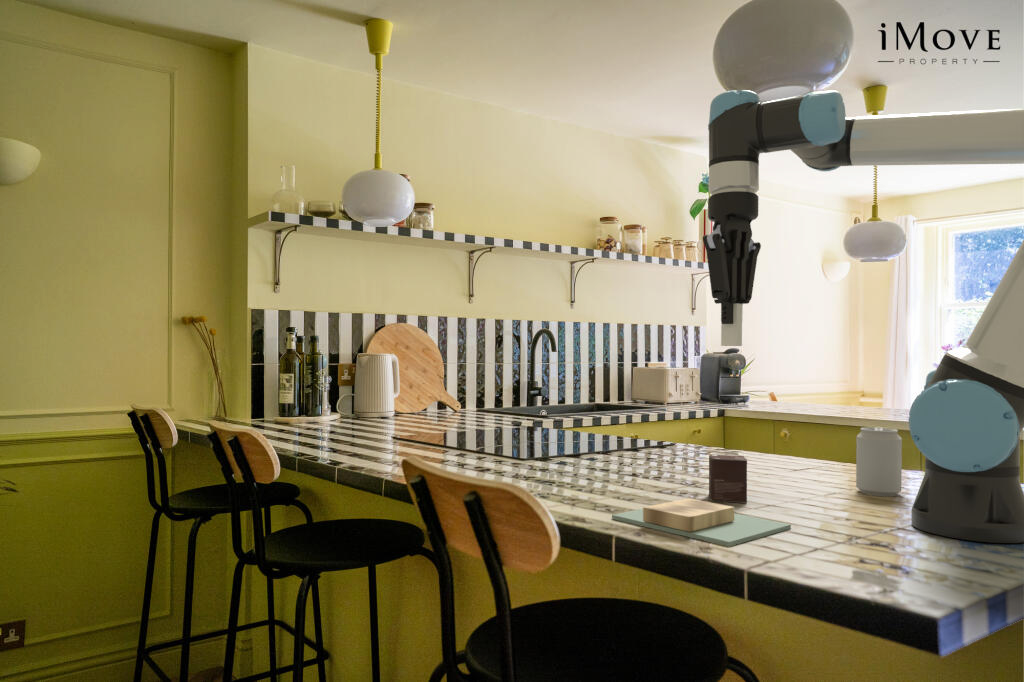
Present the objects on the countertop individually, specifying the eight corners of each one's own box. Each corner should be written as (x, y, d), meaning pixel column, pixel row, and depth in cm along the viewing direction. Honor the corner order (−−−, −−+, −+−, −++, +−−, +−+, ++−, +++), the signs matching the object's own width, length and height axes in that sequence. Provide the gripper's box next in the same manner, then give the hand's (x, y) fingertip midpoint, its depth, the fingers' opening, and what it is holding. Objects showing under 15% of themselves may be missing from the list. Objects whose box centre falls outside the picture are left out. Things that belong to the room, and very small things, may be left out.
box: (747, 503, 123) (747, 460, 123) (710, 501, 125) (710, 458, 125) (743, 497, 129) (743, 455, 129) (708, 495, 131) (708, 454, 131)
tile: (734, 507, 107) (689, 517, 99) (734, 521, 107) (689, 533, 99) (688, 498, 113) (643, 507, 105) (688, 512, 113) (643, 522, 105)
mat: (790, 528, 106) (790, 524, 106) (729, 546, 95) (729, 541, 95) (676, 505, 121) (676, 501, 121) (611, 518, 110) (611, 514, 110)
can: (857, 495, 133) (857, 428, 133) (855, 488, 140) (855, 425, 140) (903, 498, 130) (904, 431, 130) (899, 491, 137) (899, 427, 137)
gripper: (734, 204, 121) (733, 346, 121) (688, 191, 112) (686, 345, 112) (776, 197, 115) (775, 346, 115) (731, 183, 107) (729, 345, 106)
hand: (731, 345), depth 113 cm, fingers closed
